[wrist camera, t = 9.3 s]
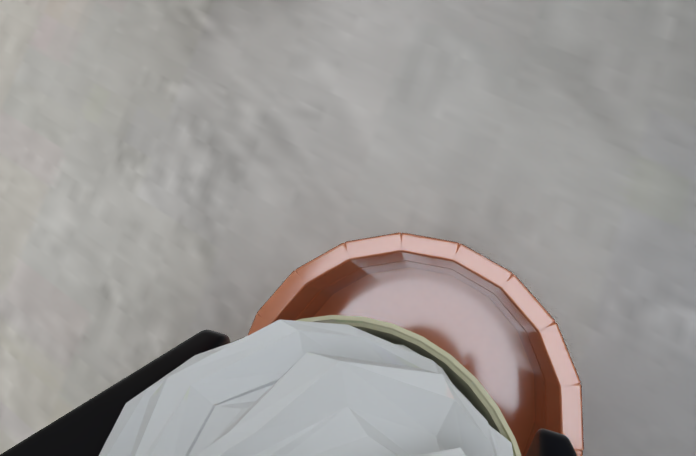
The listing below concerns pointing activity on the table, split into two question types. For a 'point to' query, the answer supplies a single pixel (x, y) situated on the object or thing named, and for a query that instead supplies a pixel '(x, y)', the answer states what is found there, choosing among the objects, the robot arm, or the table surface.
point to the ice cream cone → (316, 398)
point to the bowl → (449, 320)
